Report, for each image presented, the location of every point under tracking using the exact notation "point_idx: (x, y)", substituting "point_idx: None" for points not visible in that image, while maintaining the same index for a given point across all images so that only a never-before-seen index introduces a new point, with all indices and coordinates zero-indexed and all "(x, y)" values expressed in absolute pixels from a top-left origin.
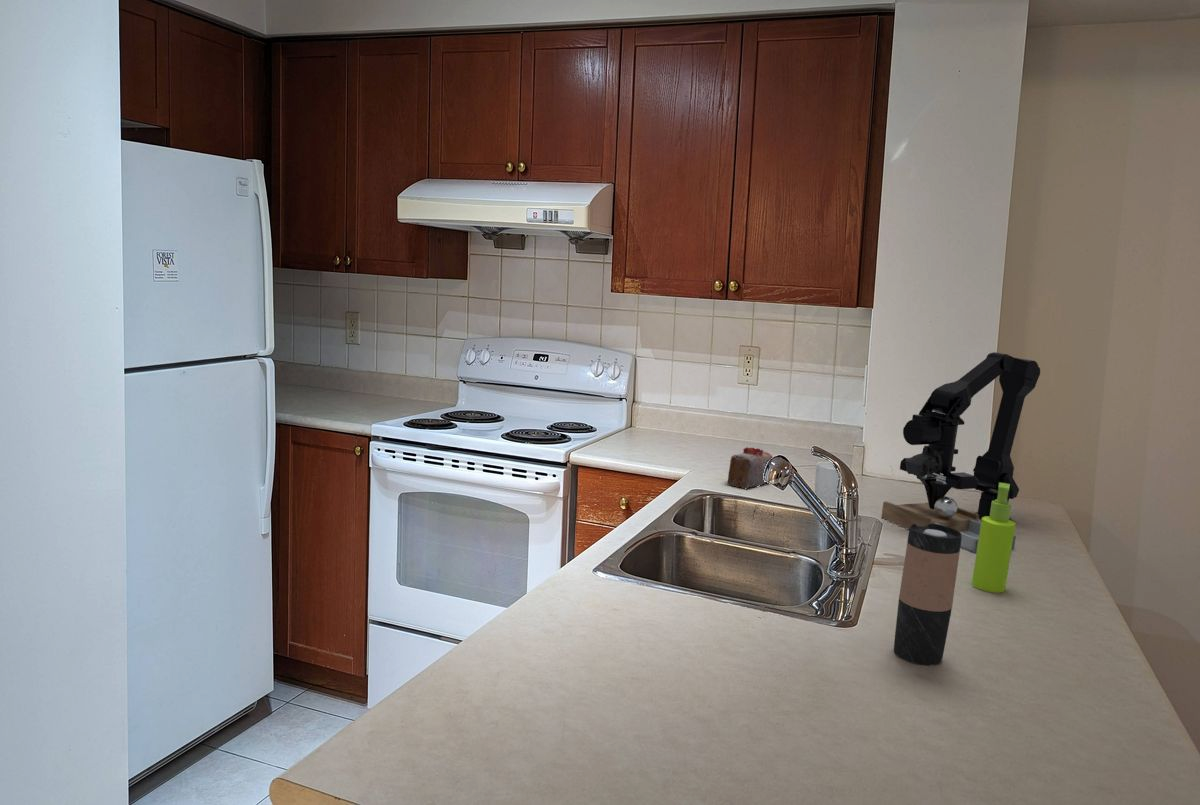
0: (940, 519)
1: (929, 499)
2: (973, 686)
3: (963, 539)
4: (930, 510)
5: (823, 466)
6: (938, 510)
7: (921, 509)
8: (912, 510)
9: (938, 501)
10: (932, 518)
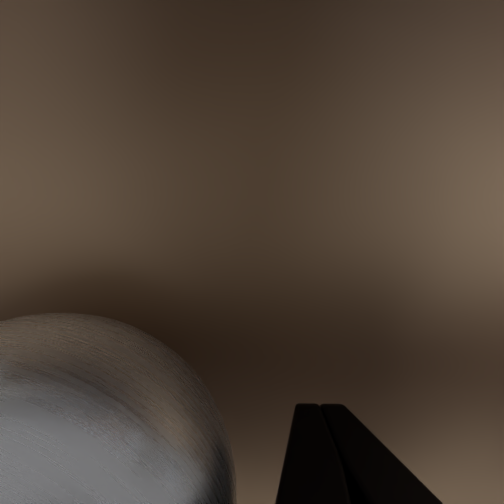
0: (43, 279)
1: (393, 501)
2: None
3: None
4: (381, 437)
5: None
6: (24, 323)
7: (451, 371)
8: (482, 227)
9: (24, 482)
10: (100, 201)
